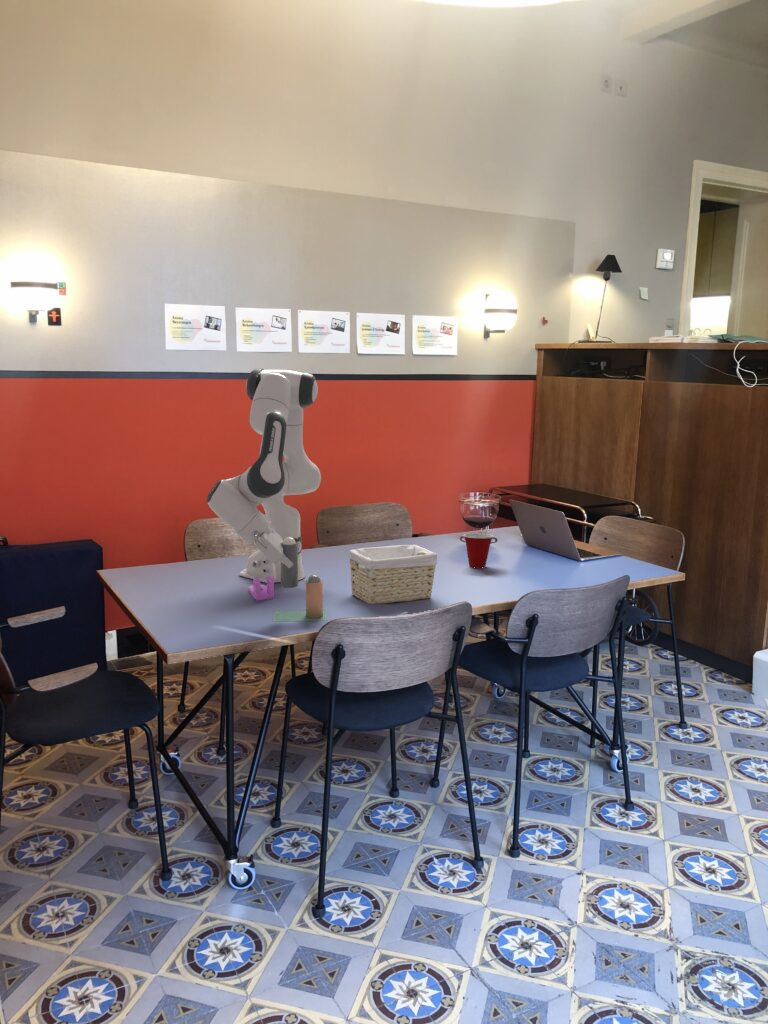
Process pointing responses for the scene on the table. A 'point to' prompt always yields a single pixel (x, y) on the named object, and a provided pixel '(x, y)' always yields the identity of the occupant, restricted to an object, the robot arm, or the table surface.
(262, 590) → the bracket
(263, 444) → the robot arm
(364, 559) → the storage basket
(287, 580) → the charcoal tube
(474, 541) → the plastic cup
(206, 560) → the table surface
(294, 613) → the green card
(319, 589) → the orange cylinder
